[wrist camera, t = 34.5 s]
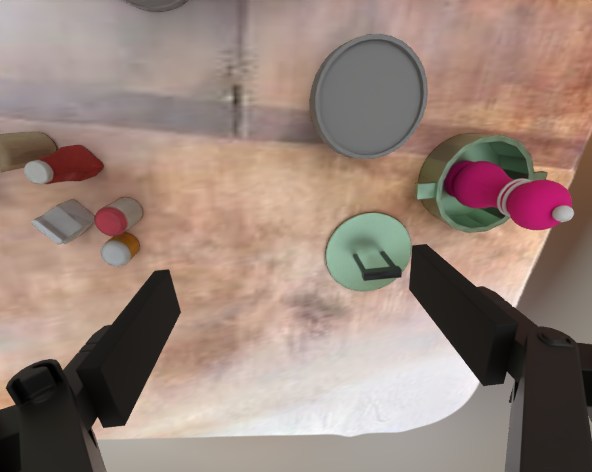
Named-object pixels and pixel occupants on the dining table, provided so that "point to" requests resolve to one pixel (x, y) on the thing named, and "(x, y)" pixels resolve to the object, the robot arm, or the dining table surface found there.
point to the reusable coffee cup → (368, 96)
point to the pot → (472, 149)
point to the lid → (368, 251)
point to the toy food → (71, 215)
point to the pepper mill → (509, 194)
